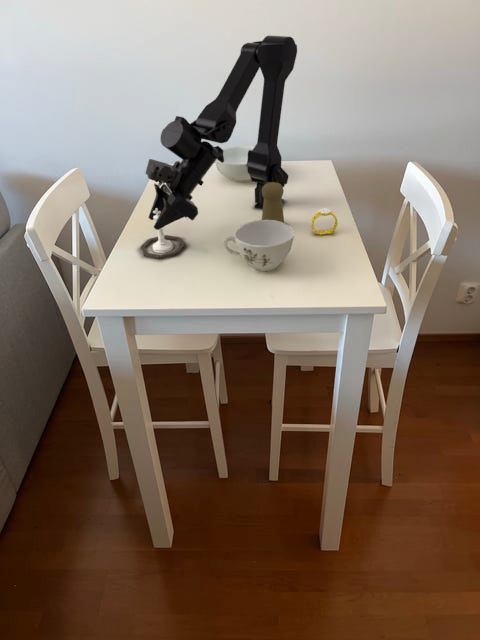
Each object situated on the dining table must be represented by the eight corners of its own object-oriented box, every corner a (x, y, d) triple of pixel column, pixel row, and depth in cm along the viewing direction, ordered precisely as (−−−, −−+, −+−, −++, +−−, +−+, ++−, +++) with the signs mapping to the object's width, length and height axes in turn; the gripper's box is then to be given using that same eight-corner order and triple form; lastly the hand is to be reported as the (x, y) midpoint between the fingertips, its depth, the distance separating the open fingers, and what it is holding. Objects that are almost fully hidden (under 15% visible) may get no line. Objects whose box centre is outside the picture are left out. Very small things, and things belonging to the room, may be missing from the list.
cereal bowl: (271, 186, 137) (271, 162, 133) (215, 188, 138) (213, 165, 133) (269, 166, 150) (269, 143, 146) (218, 168, 151) (216, 146, 147)
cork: (288, 223, 118) (289, 181, 111) (279, 233, 114) (279, 190, 107) (266, 219, 120) (265, 178, 113) (256, 229, 116) (255, 187, 109)
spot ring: (191, 241, 113) (190, 238, 113) (171, 261, 106) (171, 259, 105) (155, 235, 116) (154, 233, 116) (133, 254, 109) (133, 252, 109)
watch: (335, 230, 114) (337, 207, 110) (337, 235, 112) (339, 212, 108) (310, 231, 114) (311, 208, 110) (312, 236, 112) (313, 213, 108)
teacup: (294, 250, 107) (295, 218, 102) (292, 280, 97) (293, 246, 92) (230, 249, 109) (227, 217, 104) (221, 278, 99) (218, 245, 94)
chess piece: (169, 253, 109) (163, 213, 102) (149, 252, 110) (142, 212, 103) (176, 243, 112) (170, 204, 106) (156, 242, 113) (149, 203, 107)
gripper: (154, 133, 105) (115, 190, 109) (176, 159, 91) (130, 222, 95) (192, 162, 111) (154, 214, 115) (217, 190, 98) (173, 248, 102)
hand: (152, 223), depth 107 cm, fingers open, 5 cm apart
